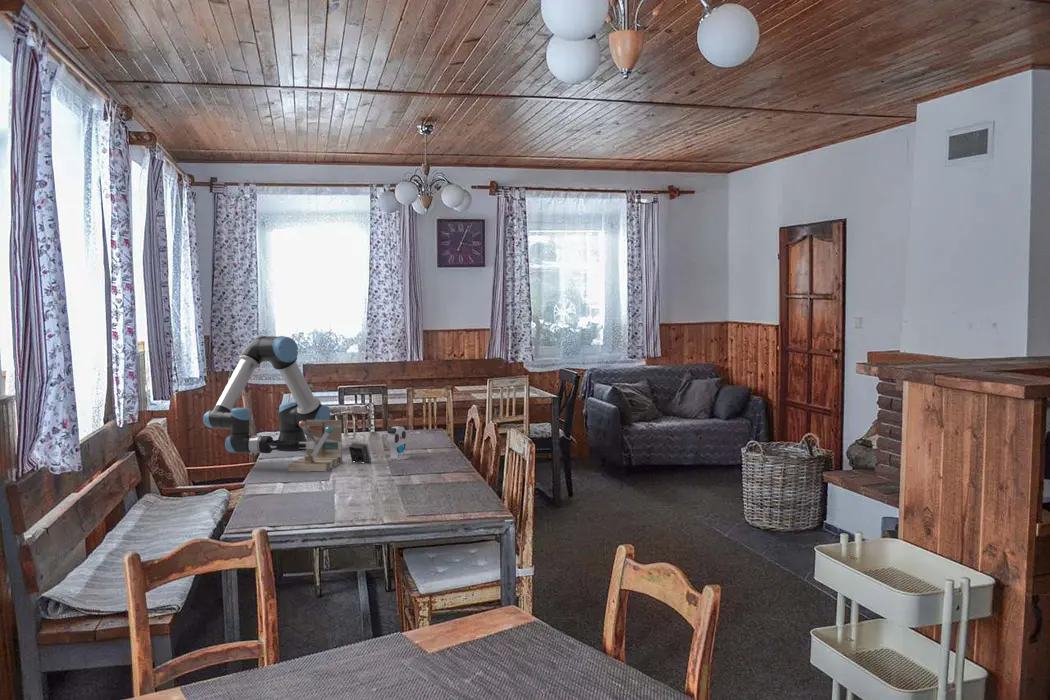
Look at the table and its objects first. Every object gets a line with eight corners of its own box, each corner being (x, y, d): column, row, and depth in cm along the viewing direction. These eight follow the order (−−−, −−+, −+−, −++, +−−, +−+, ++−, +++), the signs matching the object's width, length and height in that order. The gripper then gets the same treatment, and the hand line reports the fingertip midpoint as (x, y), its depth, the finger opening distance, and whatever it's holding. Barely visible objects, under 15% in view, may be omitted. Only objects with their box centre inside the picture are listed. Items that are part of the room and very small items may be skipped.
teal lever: (309, 457, 357) (329, 424, 356) (315, 461, 357) (335, 428, 355) (306, 458, 354) (326, 425, 352) (312, 462, 354) (332, 429, 352)
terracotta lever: (318, 455, 371) (299, 422, 371) (324, 451, 371) (304, 418, 371) (315, 456, 368) (296, 423, 368) (321, 452, 368) (302, 419, 368)
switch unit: (308, 461, 376) (307, 419, 375) (342, 461, 375) (341, 419, 373) (289, 471, 353) (288, 427, 352) (325, 471, 352) (324, 427, 351)
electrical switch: (372, 462, 372) (370, 442, 370) (363, 465, 367) (362, 445, 366) (356, 460, 377) (355, 440, 375) (348, 463, 372) (346, 443, 371)
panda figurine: (402, 461, 374) (401, 428, 373) (379, 460, 377) (379, 427, 377) (413, 456, 385) (413, 424, 384) (392, 455, 389) (391, 423, 388)
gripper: (268, 450, 364) (320, 451, 361) (255, 455, 350) (308, 456, 348) (268, 433, 363) (319, 434, 361) (254, 438, 350) (308, 439, 347)
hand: (314, 445), depth 354 cm, fingers closed
